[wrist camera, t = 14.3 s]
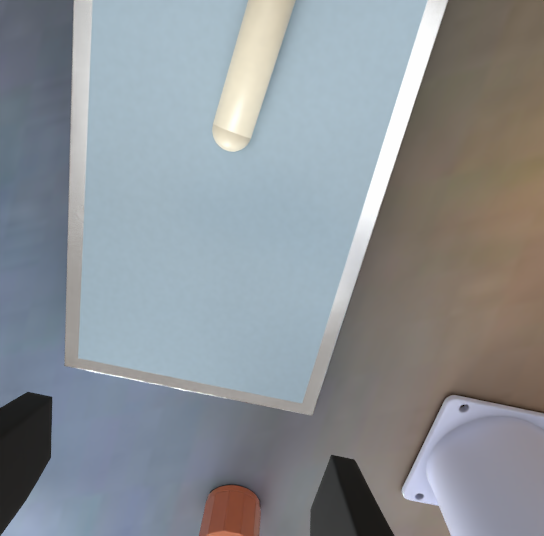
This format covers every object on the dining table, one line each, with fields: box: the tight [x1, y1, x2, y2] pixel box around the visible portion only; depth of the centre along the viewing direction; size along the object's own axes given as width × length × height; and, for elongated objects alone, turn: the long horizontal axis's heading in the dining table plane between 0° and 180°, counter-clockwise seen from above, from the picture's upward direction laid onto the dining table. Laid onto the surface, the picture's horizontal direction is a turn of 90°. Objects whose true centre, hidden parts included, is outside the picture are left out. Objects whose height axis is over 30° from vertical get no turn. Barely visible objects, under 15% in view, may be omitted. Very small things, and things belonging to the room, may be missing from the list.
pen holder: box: [199, 485, 261, 536], centre depth 23 cm, size 4×4×3 cm
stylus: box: [212, 0, 296, 152], centre depth 13 cm, size 2×2×11 cm
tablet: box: [65, 0, 449, 416], centre depth 17 cm, size 14×22×1 cm, turn 167°
